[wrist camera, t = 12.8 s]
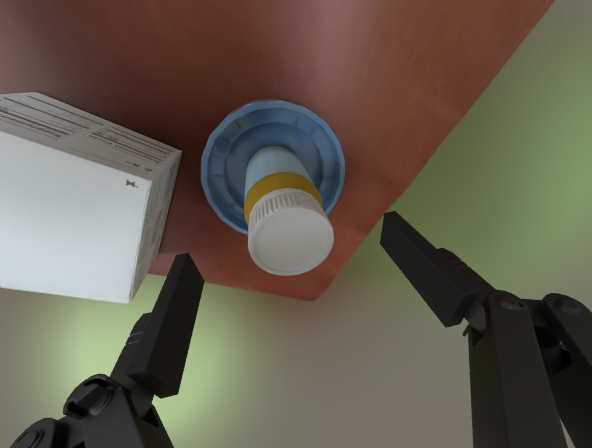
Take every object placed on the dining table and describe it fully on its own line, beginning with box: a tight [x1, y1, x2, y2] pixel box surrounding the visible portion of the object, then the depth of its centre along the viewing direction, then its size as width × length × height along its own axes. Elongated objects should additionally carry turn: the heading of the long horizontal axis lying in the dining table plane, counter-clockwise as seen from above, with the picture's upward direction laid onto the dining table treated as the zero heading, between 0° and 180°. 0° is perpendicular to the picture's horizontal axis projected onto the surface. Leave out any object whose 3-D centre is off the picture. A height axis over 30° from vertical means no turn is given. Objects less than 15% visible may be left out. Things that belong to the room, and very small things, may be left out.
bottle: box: [244, 145, 334, 276], centre depth 21 cm, size 7×7×15 cm
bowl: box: [201, 98, 345, 235], centre depth 26 cm, size 16×16×4 cm
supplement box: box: [0, 92, 182, 304], centre depth 22 cm, size 17×13×9 cm
